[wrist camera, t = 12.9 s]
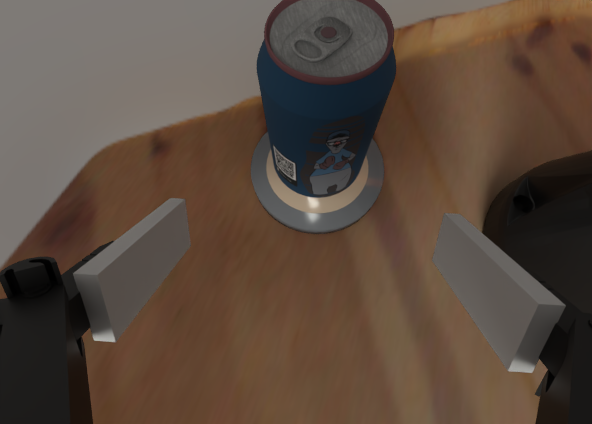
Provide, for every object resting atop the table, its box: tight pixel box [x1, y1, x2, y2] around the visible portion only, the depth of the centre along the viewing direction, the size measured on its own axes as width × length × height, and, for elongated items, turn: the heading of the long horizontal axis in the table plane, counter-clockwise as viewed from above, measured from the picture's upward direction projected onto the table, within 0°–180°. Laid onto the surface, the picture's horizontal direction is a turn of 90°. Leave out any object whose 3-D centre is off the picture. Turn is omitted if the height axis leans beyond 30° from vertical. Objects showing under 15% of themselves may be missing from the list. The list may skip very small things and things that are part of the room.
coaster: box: [251, 131, 384, 234], centre depth 25 cm, size 11×11×1 cm
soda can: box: [257, 0, 396, 198], centre depth 18 cm, size 7×7×12 cm
